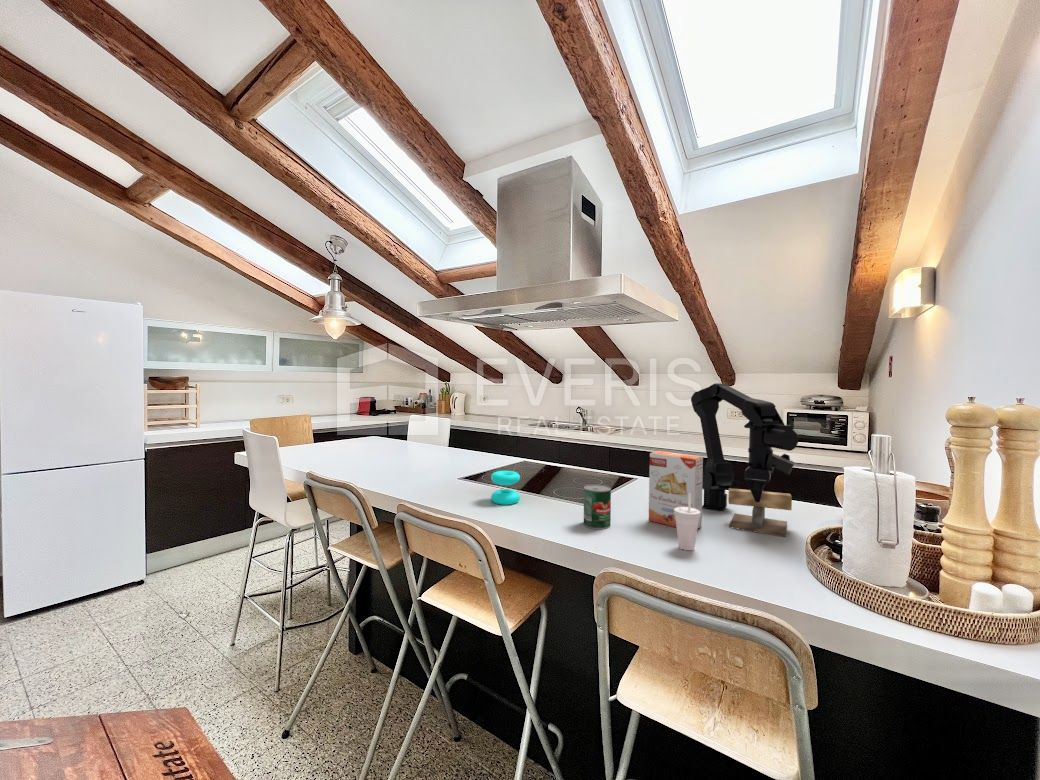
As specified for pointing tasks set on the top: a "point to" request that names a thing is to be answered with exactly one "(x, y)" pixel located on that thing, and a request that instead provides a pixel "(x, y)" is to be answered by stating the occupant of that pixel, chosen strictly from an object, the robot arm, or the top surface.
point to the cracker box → (674, 485)
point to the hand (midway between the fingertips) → (758, 498)
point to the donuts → (505, 495)
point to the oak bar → (766, 500)
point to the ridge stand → (759, 523)
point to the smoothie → (687, 525)
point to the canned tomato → (597, 506)
